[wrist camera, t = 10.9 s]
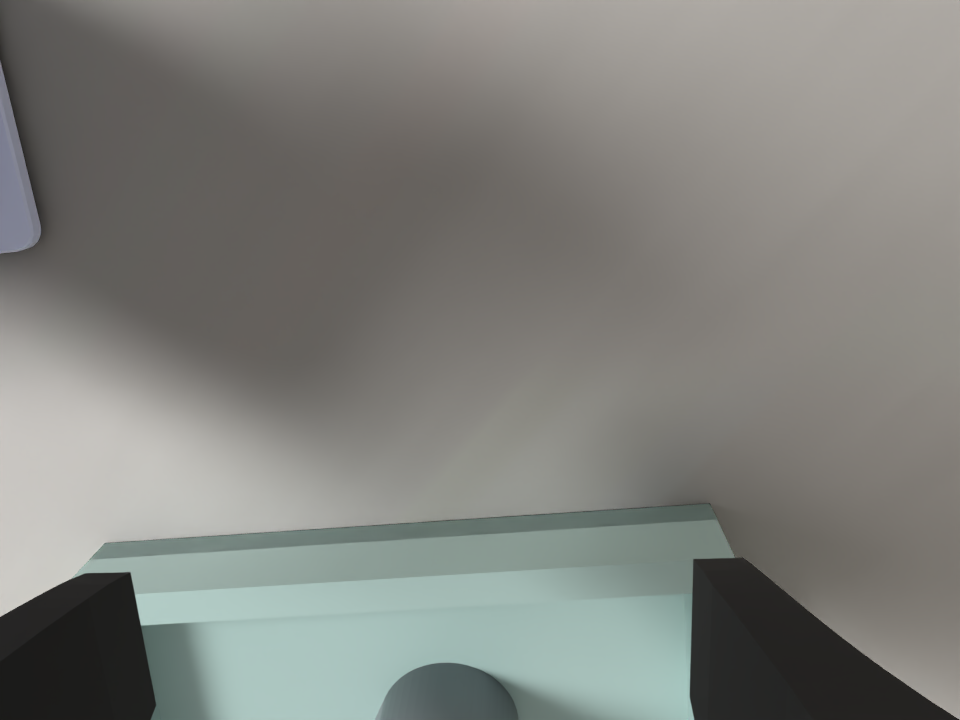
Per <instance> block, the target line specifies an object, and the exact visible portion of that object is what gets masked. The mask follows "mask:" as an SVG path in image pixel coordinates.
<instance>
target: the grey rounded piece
mask: <svg viewBox="0 0 960 720" xmlns="http://www.w3.org/2000/svg"><path fill="white" fill-rule="evenodd" d="M375 720H518V713H517V709H516V706H515V704H514V701H513V699H512V697H511V696H510V694H509V693H508V691H507V690H506V689H505V687H504V686H503V685H502V684H501V683H500V682H498V681H497V680H496V679H495V678H493V677H492V676H490V675H489V674H487V673H485V672H484V671H481V670H479V669H477V668H474V667H471V666H468V665H464V664H459V663H435V664H429V665H425V666H422V667H419V668H416V669H414V670H412V671H410V672H408V673H407V674H405V675H404V676H402V677H401V678H400V679H399V680H398V681H396V682H395V683H394V684H393V686H392V687H391V688H390V690H389V691H388V693H387V695H386V696H385V698H384V701H383V703H382V705H381V707H380V709H379V711H378V714H377V716H376V718H375Z"/></svg>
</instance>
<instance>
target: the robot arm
mask: <svg viewBox="0 0 960 720" xmlns="http://www.w3.org/2000/svg"><path fill="white" fill-rule="evenodd" d="M40 235H41V225H40V221H39V217H38V212H37V208H36V204H35V200H34V196H33V192H32V188H31V184H30V180H29V176H28V172H27V168H26V164H25V159H24V155H23V151H22V147H21V143H20V139H19V135H18V131H17V127H16V123H15V119H14V115H13V111H12V106H11V102H10V98H9V94H8V90H7V86H6V82H5V78H4V74H3V70H2V66H1V62H0V253H9V252H18V251H21V250H24V249H28V248H31V247H33V246H34V245H35V244H36V243H37V242H38V241H39V238H40ZM690 701H691V706H692V711H693V716H694V720H959V719H957V718H956V717H954V716H953V715H951V714H950V713H948V712H946V711H945V710H943V709H942V708H940V707H939V706H937V705H935V704H934V703H932V702H931V701H929V700H928V699H926V698H925V697H923V696H922V695H921V694H919V693H918V692H916V691H915V690H913V689H912V688H910V687H909V686H908V685H906V684H905V683H903V682H902V681H900V680H899V679H897V678H896V677H895V676H893V675H892V674H890V673H889V672H887V671H886V670H884V669H883V668H882V667H880V666H879V665H878V664H876V663H875V662H873V661H872V660H871V659H869V658H868V657H867V656H865V655H864V654H863V653H861V652H860V651H859V650H857V649H856V648H855V647H853V646H852V645H851V644H849V643H848V642H847V641H845V640H844V639H843V638H842V637H840V636H839V635H838V634H836V633H835V632H834V631H833V630H831V629H830V628H829V627H828V626H826V625H825V624H824V623H822V622H821V621H820V620H819V619H818V618H816V617H815V616H814V615H813V614H811V613H810V612H809V611H808V610H806V609H805V608H804V607H803V606H802V605H800V604H799V603H798V602H797V601H795V600H794V599H793V598H792V597H791V596H789V595H788V594H787V593H786V592H785V591H783V590H782V589H781V588H780V587H779V586H777V585H776V584H775V583H774V582H773V581H771V580H770V579H769V578H768V577H767V576H765V575H764V574H763V573H762V572H761V571H759V570H758V569H757V568H756V567H754V566H753V565H752V564H751V563H749V562H748V561H747V560H745V559H744V558H711V559H693V589H692V626H691V663H690ZM155 707H156V701H155V695H154V690H153V685H152V680H151V675H150V670H149V665H148V659H147V654H146V649H145V644H144V639H143V634H142V628H141V623H140V618H139V613H138V608H137V603H136V598H135V592H134V587H133V582H132V577H131V572H115V573H84V574H82V575H80V576H77V577H75V578H73V579H70V580H68V581H66V582H64V583H62V584H60V585H58V586H56V587H54V588H52V589H50V590H48V591H46V592H45V593H43V594H41V595H39V596H37V597H35V598H33V599H32V600H30V601H28V602H26V603H24V604H23V605H21V606H19V607H17V608H15V609H14V610H12V611H10V612H8V613H7V614H5V615H3V616H1V617H0V720H151V718H152V715H153V712H154V710H155Z"/></svg>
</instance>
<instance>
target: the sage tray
mask: <svg viewBox="0 0 960 720" xmlns="http://www.w3.org/2000/svg"><path fill="white" fill-rule="evenodd" d="M711 558H735V556H734V554H733V552H732V550H731V548H730V545H729V543H728V541H727V539H726V537H725V535H724V533H723V531H722V529H721V526H720V524H719V522H718V520H717V518H716V516H715V514H714V512H713V509H712V507H711V505H710V504H696V505H681V506H665V507H650V508H635V509H620V510H604V511H589V512H574V513H559V514H543V515H528V516H513V517H498V518H483V519H467V520H452V521H437V522H422V523H406V524H391V525H376V526H361V527H346V528H330V529H315V530H300V531H285V532H269V533H254V534H239V535H224V536H208V537H193V538H178V539H163V540H148V541H132V542H117V543H105V544H104V545H103V546H102V547H101V548H100V549H99V550H98V551H97V552H96V553H95V554H94V555H93V557H92V558H91V559H90V560H89V561H88V562H87V563H86V564H85V565H84V566H83V567H82V568H81V569H80V570H79V572H78V573H77V574H76V575H75V576H74V577H73V578H75V577H77V576H80V575H82V574H84V573H115V572H131V577H132V582H133V587H134V592H135V598H136V603H137V608H138V613H139V618H140V623H141V628H142V634H143V639H144V644H145V649H146V654H147V659H148V665H149V670H150V675H151V680H152V685H153V690H154V695H155V701H156V707H155V710H154V712H153V715H152V718H151V720H375V718H376V716H377V714H378V711H379V709H380V707H381V705H382V703H383V701H384V698H385V696H386V695H387V693H388V691H389V690H390V688H391V687H392V686H393V684H394V683H395V682H396V681H398V680H399V679H400V678H401V677H402V676H404V675H405V674H407V673H408V672H410V671H412V670H414V669H416V668H419V667H422V666H425V665H429V664H435V663H459V664H464V665H468V666H471V667H474V668H477V669H479V670H481V671H484V672H485V673H487V674H489V675H490V676H492V677H493V678H495V679H496V680H497V681H498V682H500V683H501V684H502V685H503V686H504V687H505V689H506V690H507V691H508V693H509V694H510V696H511V697H512V699H513V701H514V704H515V706H516V709H517V713H518V720H694V716H693V711H692V706H691V701H690V663H691V626H692V589H693V559H711ZM73 578H72V579H73Z"/></svg>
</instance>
